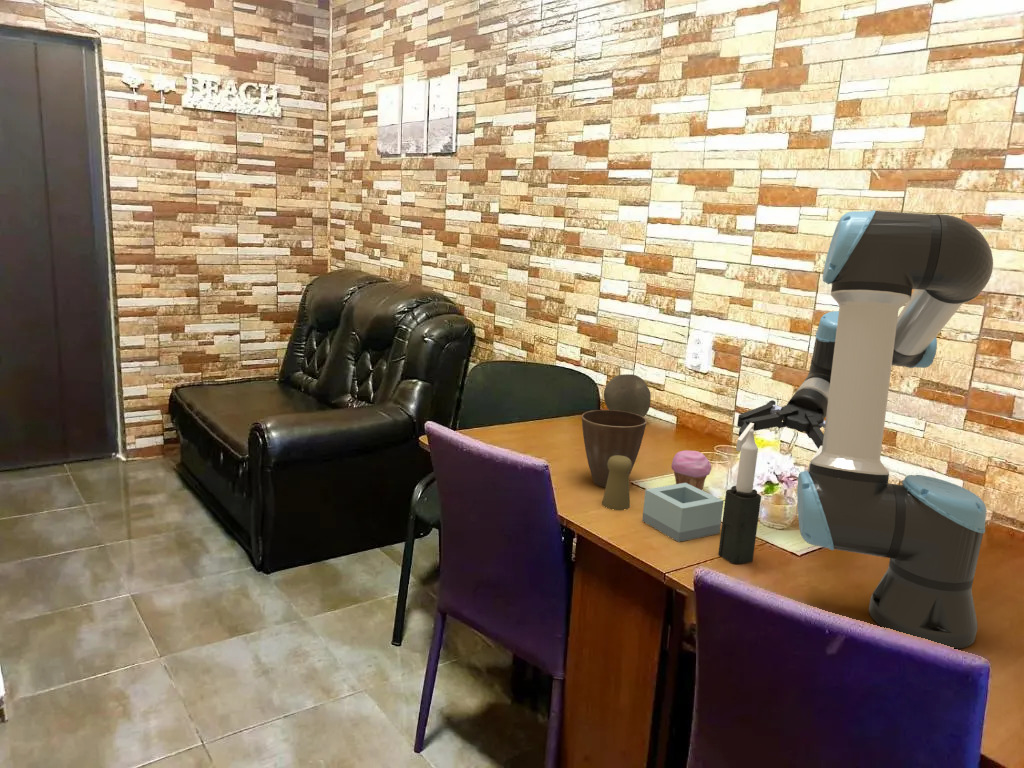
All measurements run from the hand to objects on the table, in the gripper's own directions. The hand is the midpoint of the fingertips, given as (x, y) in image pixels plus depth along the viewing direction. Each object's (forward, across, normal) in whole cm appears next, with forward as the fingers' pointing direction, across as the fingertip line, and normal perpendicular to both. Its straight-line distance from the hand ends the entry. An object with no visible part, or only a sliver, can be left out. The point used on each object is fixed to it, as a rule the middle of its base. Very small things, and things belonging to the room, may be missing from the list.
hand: (773, 457), depth 139 cm
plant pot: (-4, +37, -27) cm, 46 cm away
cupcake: (-12, +21, -27) cm, 36 cm away
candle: (+13, 0, -16) cm, 20 cm away
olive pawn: (+7, +29, -22) cm, 37 cm away
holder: (+7, +14, -19) cm, 25 cm away
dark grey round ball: (-53, +60, -48) cm, 93 cm away
